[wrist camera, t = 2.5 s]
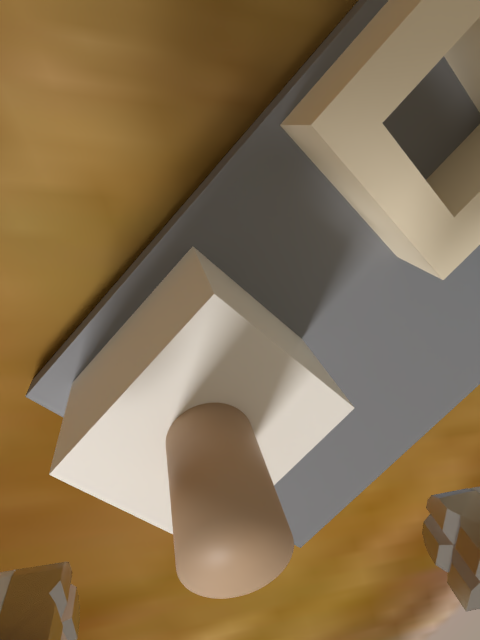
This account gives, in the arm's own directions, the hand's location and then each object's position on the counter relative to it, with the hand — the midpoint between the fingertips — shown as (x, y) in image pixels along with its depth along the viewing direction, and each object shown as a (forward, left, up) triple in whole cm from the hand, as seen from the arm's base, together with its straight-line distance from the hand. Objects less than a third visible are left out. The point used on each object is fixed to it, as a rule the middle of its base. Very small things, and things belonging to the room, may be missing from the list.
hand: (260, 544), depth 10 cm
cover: (0, 0, -9) cm, 9 cm away
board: (+5, -4, -10) cm, 12 cm away
